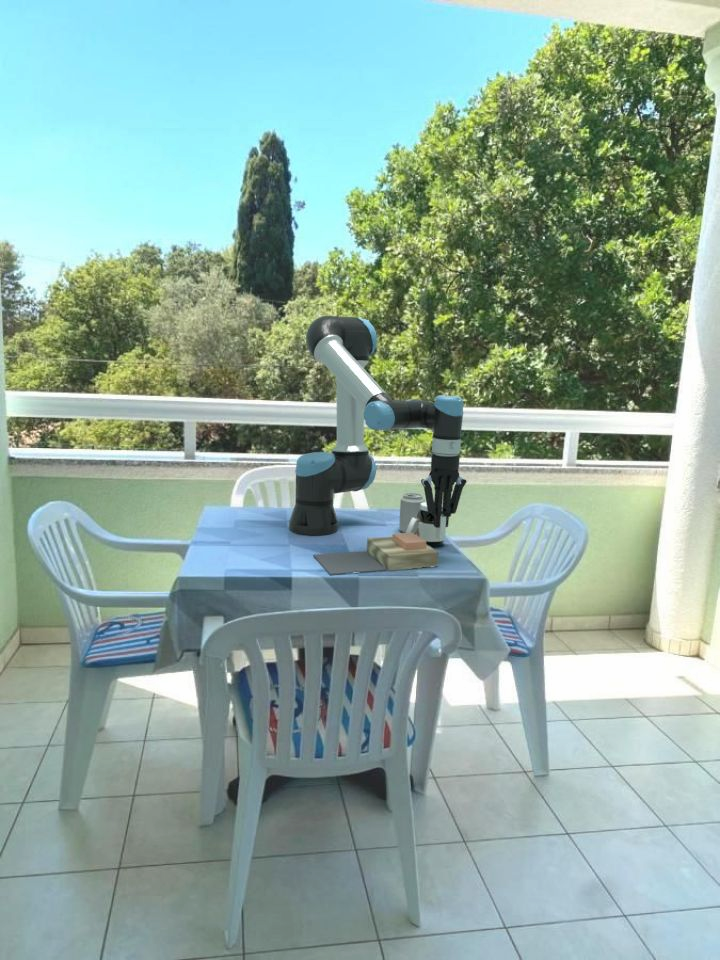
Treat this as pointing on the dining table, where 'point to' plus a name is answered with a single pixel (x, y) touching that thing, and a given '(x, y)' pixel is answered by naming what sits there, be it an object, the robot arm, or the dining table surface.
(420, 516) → the spread jar
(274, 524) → the dining table surface
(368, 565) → the mat
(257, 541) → the dining table surface
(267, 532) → the dining table surface
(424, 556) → the wooden block
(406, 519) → the can
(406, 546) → the light brown flat block
